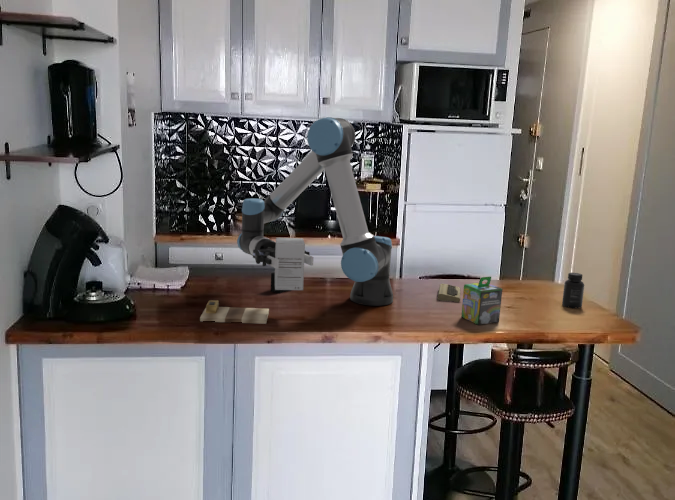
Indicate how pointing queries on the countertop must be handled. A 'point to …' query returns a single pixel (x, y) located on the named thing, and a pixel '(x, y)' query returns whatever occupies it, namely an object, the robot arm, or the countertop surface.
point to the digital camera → (274, 284)
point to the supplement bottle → (573, 291)
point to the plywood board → (233, 314)
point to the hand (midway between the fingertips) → (295, 262)
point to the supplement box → (289, 263)
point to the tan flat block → (449, 293)
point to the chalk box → (481, 302)
